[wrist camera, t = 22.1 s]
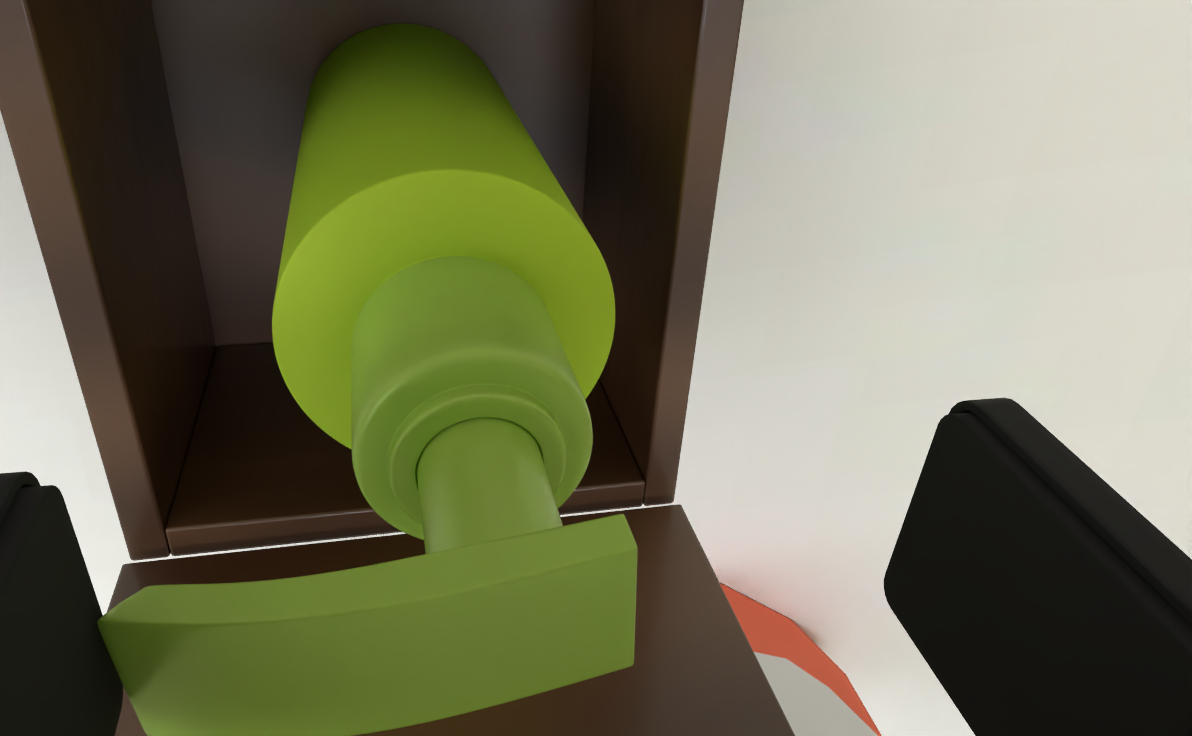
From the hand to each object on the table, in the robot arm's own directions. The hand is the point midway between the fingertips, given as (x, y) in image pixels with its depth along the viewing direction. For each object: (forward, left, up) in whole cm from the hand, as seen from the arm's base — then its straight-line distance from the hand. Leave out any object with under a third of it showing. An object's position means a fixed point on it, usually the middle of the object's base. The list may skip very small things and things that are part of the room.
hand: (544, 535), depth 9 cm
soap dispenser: (+1, -1, -19) cm, 19 cm away
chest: (+1, -1, -20) cm, 20 cm away
